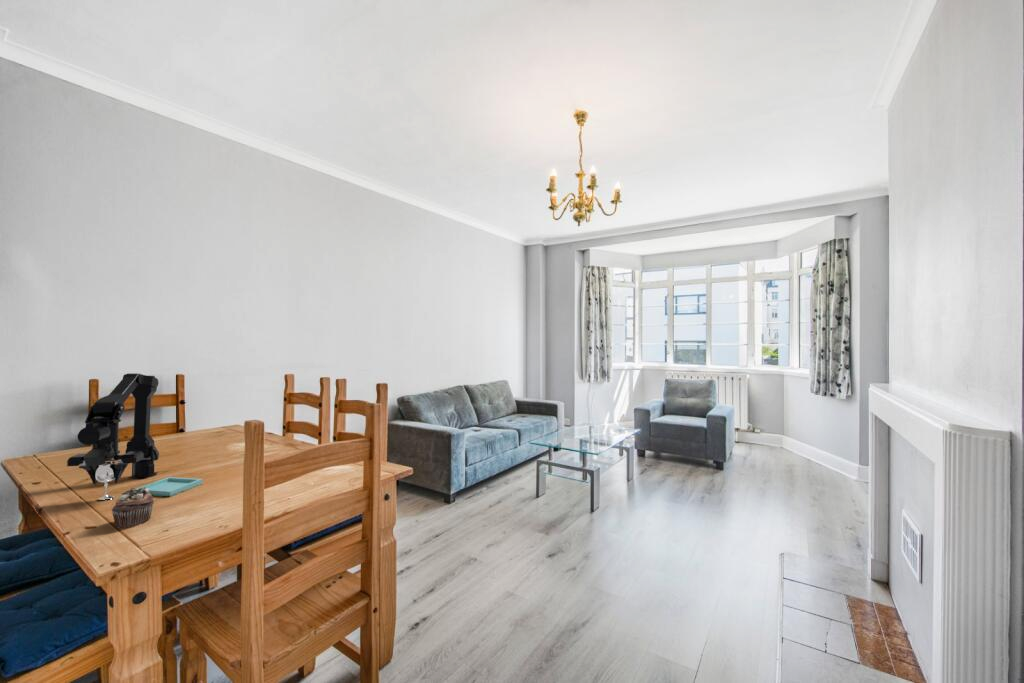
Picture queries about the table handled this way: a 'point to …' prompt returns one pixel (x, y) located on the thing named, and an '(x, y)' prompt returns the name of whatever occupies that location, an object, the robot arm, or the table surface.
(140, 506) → the cupcake
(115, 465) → the robot arm
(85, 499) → the table surface
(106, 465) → the wineglass
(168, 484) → the tray
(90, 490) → the table surface
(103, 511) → the table surface
